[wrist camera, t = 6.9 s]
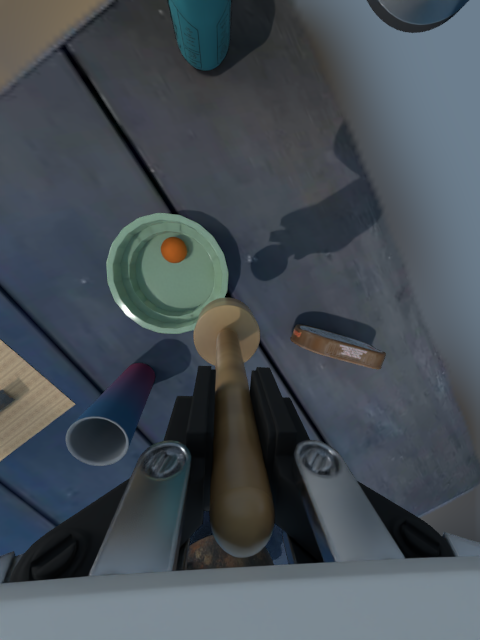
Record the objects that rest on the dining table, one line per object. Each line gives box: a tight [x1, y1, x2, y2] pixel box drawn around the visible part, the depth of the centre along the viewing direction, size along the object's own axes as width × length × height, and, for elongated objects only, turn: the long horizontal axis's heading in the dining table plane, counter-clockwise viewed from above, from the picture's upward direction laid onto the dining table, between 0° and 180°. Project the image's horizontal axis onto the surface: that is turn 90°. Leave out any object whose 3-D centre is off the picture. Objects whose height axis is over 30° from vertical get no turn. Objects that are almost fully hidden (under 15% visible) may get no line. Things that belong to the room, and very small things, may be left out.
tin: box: [290, 324, 386, 369], centre depth 38 cm, size 15×3×8 cm, turn 73°
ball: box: [161, 237, 187, 263], centre depth 34 cm, size 4×4×4 cm
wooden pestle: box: [194, 298, 275, 558], centre depth 13 cm, size 5×5×16 cm
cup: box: [66, 363, 155, 466], centre depth 34 cm, size 7×7×15 cm
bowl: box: [107, 213, 229, 334], centre depth 34 cm, size 16×16×6 cm
